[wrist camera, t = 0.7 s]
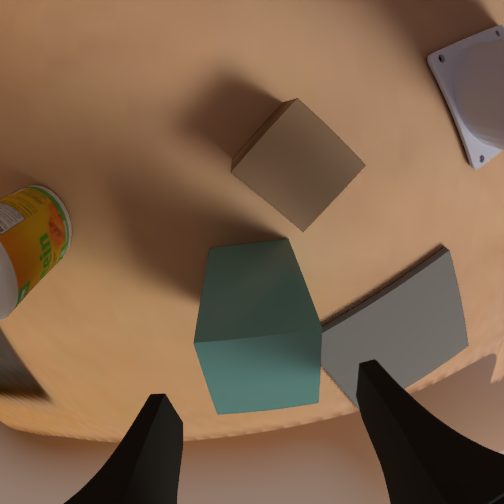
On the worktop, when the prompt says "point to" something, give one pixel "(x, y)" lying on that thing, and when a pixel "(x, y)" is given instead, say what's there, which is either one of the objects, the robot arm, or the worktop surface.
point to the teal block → (258, 329)
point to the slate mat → (399, 328)
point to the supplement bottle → (29, 241)
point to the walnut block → (296, 163)
